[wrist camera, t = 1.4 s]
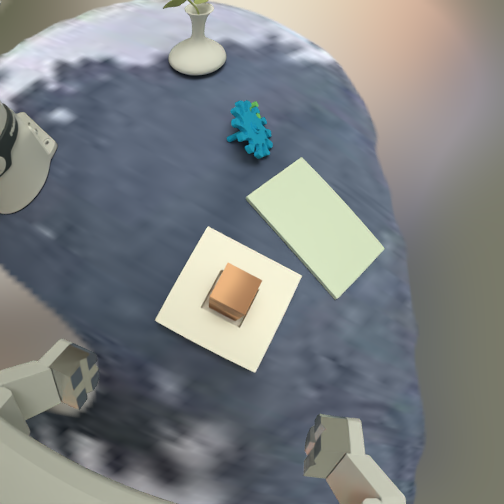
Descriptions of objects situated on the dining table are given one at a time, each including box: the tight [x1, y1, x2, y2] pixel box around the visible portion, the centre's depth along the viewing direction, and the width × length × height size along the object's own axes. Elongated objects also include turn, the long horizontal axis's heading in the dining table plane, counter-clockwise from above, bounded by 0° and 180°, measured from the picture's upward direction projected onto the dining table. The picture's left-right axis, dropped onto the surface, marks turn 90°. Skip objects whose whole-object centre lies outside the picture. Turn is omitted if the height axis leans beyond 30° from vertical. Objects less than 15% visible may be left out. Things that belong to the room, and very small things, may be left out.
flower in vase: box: [163, 0, 226, 75], centre depth 43 cm, size 13×11×25 cm
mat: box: [246, 157, 385, 299], centre depth 49 cm, size 20×12×1 cm, turn 41°
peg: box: [209, 263, 262, 321], centre depth 38 cm, size 4×4×11 cm
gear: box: [227, 100, 273, 159], centre depth 49 cm, size 11×6×10 cm
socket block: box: [155, 227, 302, 372], centre depth 42 cm, size 14×14×4 cm
